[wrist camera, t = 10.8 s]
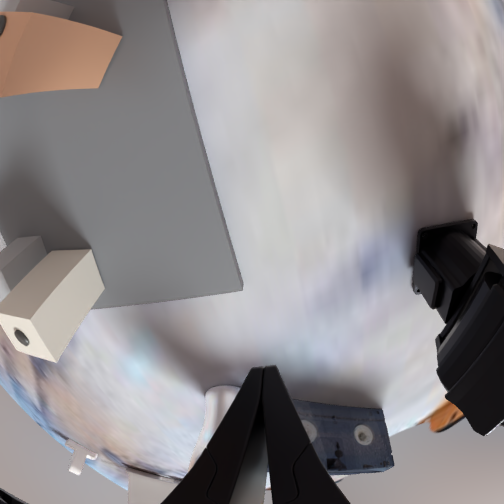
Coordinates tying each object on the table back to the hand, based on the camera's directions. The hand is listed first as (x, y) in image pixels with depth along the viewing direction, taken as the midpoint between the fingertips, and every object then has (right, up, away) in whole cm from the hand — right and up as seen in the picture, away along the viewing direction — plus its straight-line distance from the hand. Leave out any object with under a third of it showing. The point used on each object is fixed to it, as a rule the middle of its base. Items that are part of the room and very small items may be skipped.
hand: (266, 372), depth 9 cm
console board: (-16, +12, +9) cm, 22 cm away
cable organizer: (-52, -55, +49) cm, 90 cm away
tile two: (-12, +18, +4) cm, 22 cm away
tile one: (-16, +3, +13) cm, 21 cm away
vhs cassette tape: (+10, -17, +24) cm, 31 cm away
